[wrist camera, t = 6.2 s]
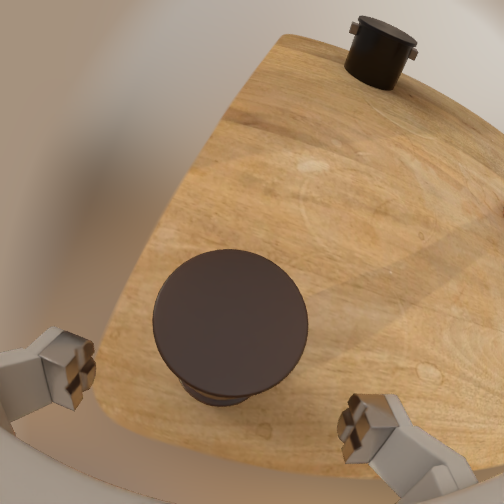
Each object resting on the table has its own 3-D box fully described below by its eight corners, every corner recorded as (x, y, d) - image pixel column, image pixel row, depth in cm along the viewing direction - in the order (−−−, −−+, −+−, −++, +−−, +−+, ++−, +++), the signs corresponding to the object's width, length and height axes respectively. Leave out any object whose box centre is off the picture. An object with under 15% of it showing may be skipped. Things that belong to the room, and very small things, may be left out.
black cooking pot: (336, 73, 33) (354, 20, 26) (339, 55, 38) (354, 10, 30) (402, 100, 33) (426, 52, 26) (396, 78, 37) (415, 36, 30)
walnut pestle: (170, 390, 14) (110, 368, 5) (196, 323, 16) (182, 216, 7) (243, 415, 14) (295, 433, 5) (265, 347, 16) (335, 268, 7)
